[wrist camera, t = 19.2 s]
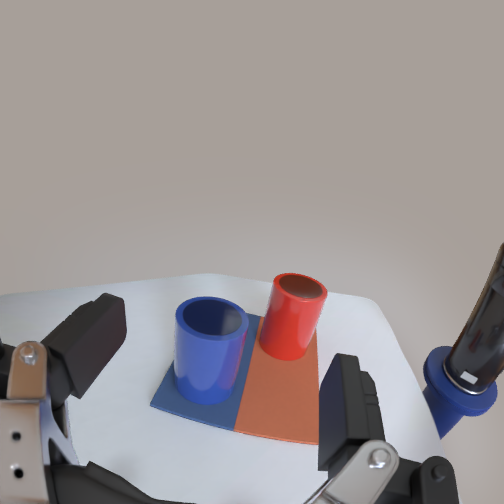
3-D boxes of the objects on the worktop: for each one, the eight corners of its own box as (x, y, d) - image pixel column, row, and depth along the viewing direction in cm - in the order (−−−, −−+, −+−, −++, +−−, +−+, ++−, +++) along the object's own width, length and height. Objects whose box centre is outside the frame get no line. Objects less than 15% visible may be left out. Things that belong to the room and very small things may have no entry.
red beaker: (306, 334, 37) (325, 279, 34) (306, 365, 32) (330, 306, 28) (261, 324, 38) (275, 268, 34) (255, 354, 32) (271, 293, 29)
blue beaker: (239, 369, 29) (254, 305, 26) (227, 412, 24) (242, 348, 20) (185, 354, 30) (189, 289, 27) (165, 393, 24) (163, 327, 21)
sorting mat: (315, 330, 39) (316, 328, 39) (318, 445, 21) (319, 443, 21) (205, 305, 40) (205, 302, 40) (150, 405, 23) (149, 403, 22)
